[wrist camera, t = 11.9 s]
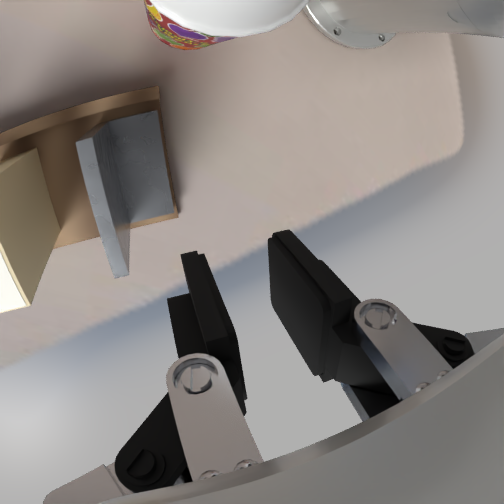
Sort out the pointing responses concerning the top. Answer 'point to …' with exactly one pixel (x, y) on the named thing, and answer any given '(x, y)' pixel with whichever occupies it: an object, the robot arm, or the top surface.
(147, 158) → the bookend
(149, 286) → the top surface
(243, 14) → the smoothie
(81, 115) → the shelf
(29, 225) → the tan book
